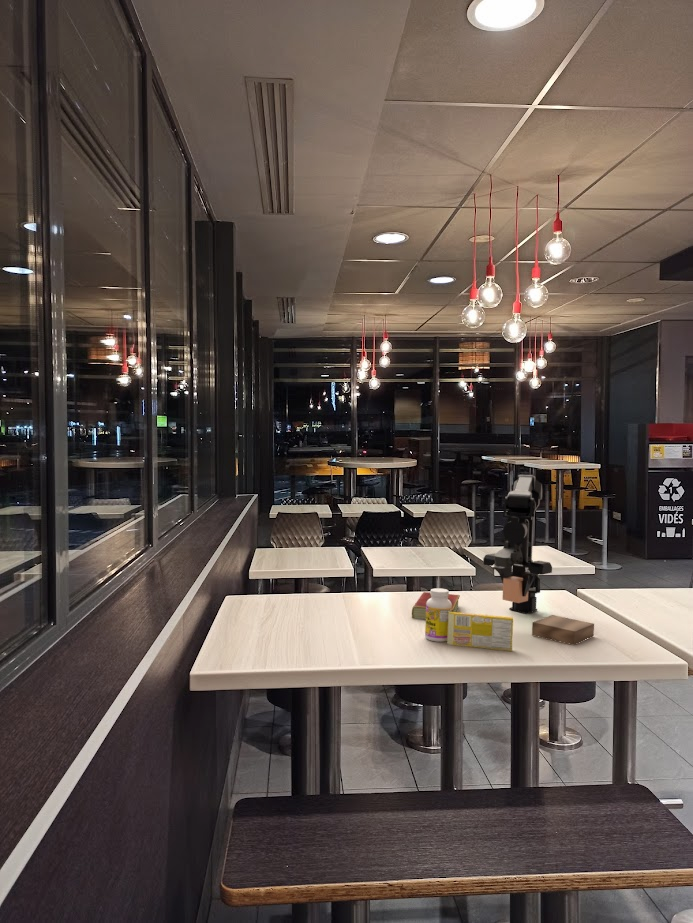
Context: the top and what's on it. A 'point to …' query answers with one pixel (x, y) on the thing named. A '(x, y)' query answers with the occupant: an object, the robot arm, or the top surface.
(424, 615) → the hardcover book
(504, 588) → the pink clay cube
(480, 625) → the candy box
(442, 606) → the supplement bottle
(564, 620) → the walnut block
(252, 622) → the top surface
